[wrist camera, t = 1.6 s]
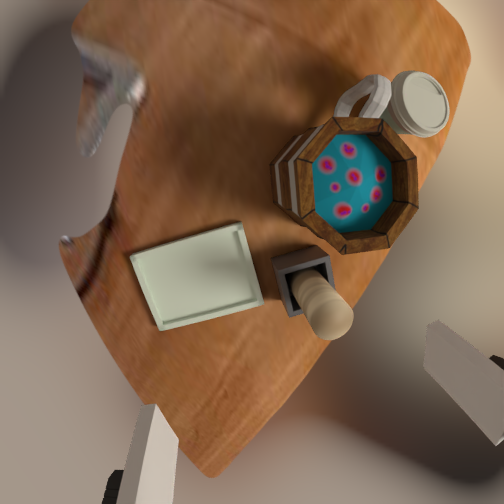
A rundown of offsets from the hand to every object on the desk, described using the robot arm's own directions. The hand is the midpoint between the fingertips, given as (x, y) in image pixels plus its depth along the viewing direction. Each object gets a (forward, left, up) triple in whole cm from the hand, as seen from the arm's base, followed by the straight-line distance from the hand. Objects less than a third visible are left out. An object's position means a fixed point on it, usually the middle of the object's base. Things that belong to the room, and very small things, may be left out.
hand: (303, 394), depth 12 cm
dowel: (+7, +6, -29) cm, 30 cm away
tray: (+3, -8, -30) cm, 31 cm away
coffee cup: (-13, +24, -30) cm, 41 cm away
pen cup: (+7, +6, -30) cm, 31 cm away
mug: (-8, +13, -30) cm, 34 cm away
